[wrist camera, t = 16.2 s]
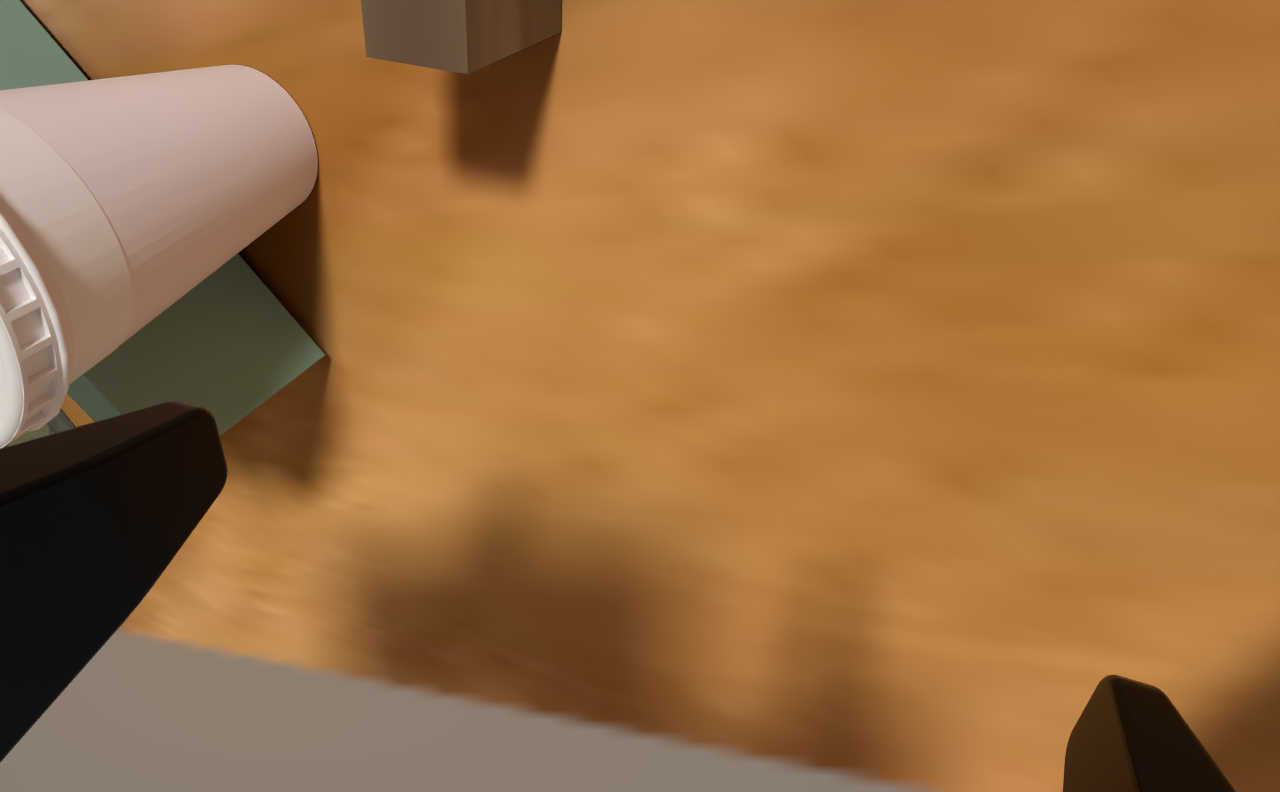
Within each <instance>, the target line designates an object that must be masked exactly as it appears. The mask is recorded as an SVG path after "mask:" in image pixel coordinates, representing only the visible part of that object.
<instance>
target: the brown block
mask: <svg viewBox="0 0 1280 792" xmlns="http://www.w3.org/2000/svg"><path fill="white" fill-rule="evenodd" d="M361 4H362V15H363V25H364V35H365V45H366V56H367V57H370V58H376V59H382V60H388V61H394V62H399V63H405V64H411V65H417V66H423V67H428V68H434V69H440V70H446V71H452V72H457V73H463V74H470V73H472V72H474V71H476V70H479V69H481V68H483V67H485V66H487V65H490V64H492V63H494V62H496V61H498V60H501V59H503V58H505V57H507V56H509V55H512V54H514V53H516V52H518V51H520V50H523V49H525V48H527V47H529V46H531V45H534V44H536V43H538V42H540V41H542V40H545V39H547V38H549V37H551V36H553V35H556V34H558V33H560V32H561V13H562V0H361Z"/></svg>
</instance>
